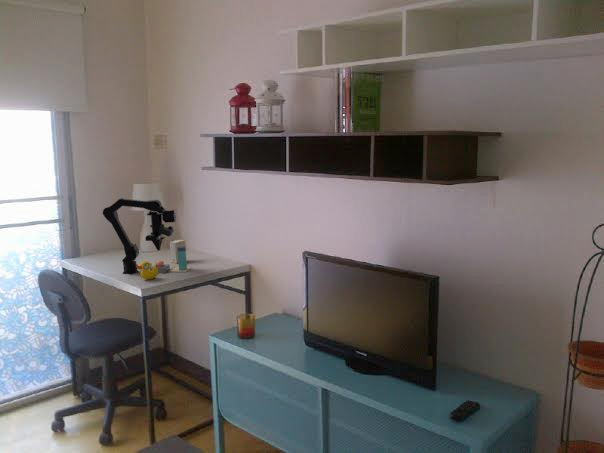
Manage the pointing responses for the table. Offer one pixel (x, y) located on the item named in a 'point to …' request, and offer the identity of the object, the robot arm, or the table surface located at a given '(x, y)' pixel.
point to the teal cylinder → (182, 258)
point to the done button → (159, 263)
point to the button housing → (162, 268)
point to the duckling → (147, 270)
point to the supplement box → (175, 250)
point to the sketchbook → (176, 269)
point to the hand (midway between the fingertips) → (158, 250)
